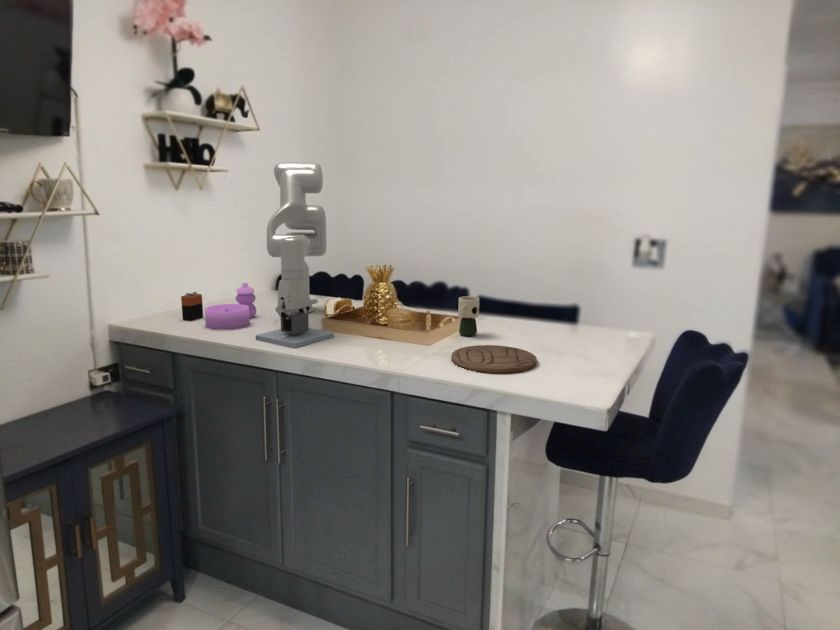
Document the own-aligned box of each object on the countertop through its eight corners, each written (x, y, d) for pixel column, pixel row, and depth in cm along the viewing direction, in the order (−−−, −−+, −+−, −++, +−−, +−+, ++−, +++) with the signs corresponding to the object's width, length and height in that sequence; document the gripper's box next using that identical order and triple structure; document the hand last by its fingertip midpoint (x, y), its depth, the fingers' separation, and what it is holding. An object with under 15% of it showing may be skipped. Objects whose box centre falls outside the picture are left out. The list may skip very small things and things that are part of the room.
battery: (182, 320, 227) (180, 293, 225) (194, 316, 233) (193, 290, 231) (191, 321, 225) (189, 294, 223) (203, 317, 232) (202, 291, 229)
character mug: (471, 339, 204) (472, 301, 201) (452, 337, 207) (453, 299, 204) (483, 333, 213) (484, 296, 210) (464, 330, 216) (465, 294, 213)
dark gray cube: (295, 328, 206) (294, 310, 205) (308, 330, 203) (308, 312, 201) (281, 331, 201) (280, 313, 200) (294, 334, 198) (294, 316, 196)
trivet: (526, 351, 192) (527, 345, 191) (545, 375, 167) (545, 368, 167) (448, 350, 191) (448, 344, 191) (455, 375, 167) (455, 368, 166)
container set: (236, 331, 211) (234, 294, 209) (197, 328, 215) (194, 291, 212) (269, 316, 235) (268, 283, 232) (233, 314, 238) (231, 281, 236)
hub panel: (295, 329, 215) (295, 314, 213) (333, 337, 205) (333, 321, 204) (255, 339, 200) (255, 323, 199) (294, 348, 190) (294, 331, 189)
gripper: (303, 271, 207) (305, 322, 211) (264, 277, 193) (267, 332, 197) (320, 273, 203) (321, 325, 207) (281, 279, 189) (283, 335, 193)
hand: (294, 328), depth 202 cm, fingers closed on dark gray cube, 6 cm apart
